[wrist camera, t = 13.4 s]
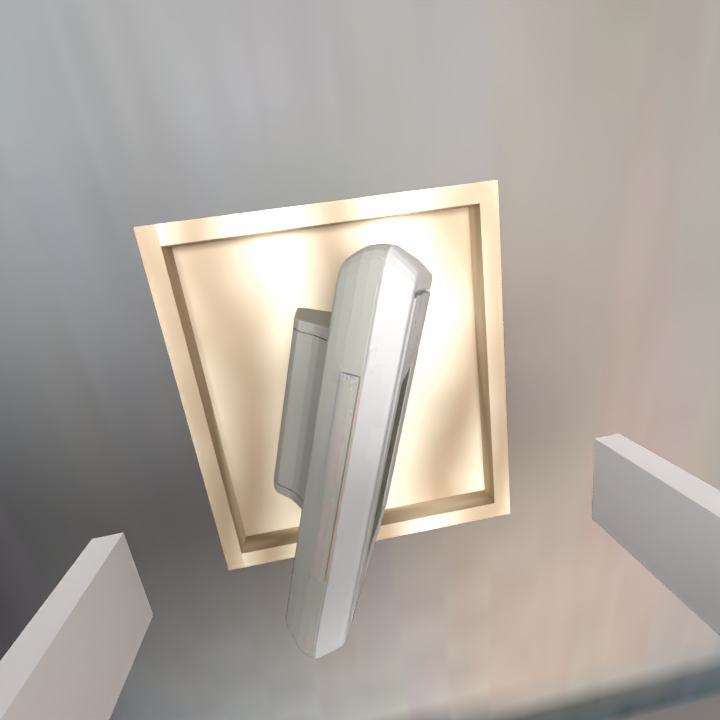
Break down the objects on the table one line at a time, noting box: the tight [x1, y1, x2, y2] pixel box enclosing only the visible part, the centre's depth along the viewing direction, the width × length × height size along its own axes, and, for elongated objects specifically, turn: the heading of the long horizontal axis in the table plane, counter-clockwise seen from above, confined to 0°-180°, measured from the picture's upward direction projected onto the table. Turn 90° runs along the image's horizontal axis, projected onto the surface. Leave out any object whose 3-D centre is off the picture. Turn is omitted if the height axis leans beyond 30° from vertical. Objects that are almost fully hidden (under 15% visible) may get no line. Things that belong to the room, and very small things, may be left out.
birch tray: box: [133, 180, 510, 570], centre depth 23 cm, size 18×20×2 cm
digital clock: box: [274, 244, 432, 659], centre depth 18 cm, size 16×9×11 cm, turn 159°
